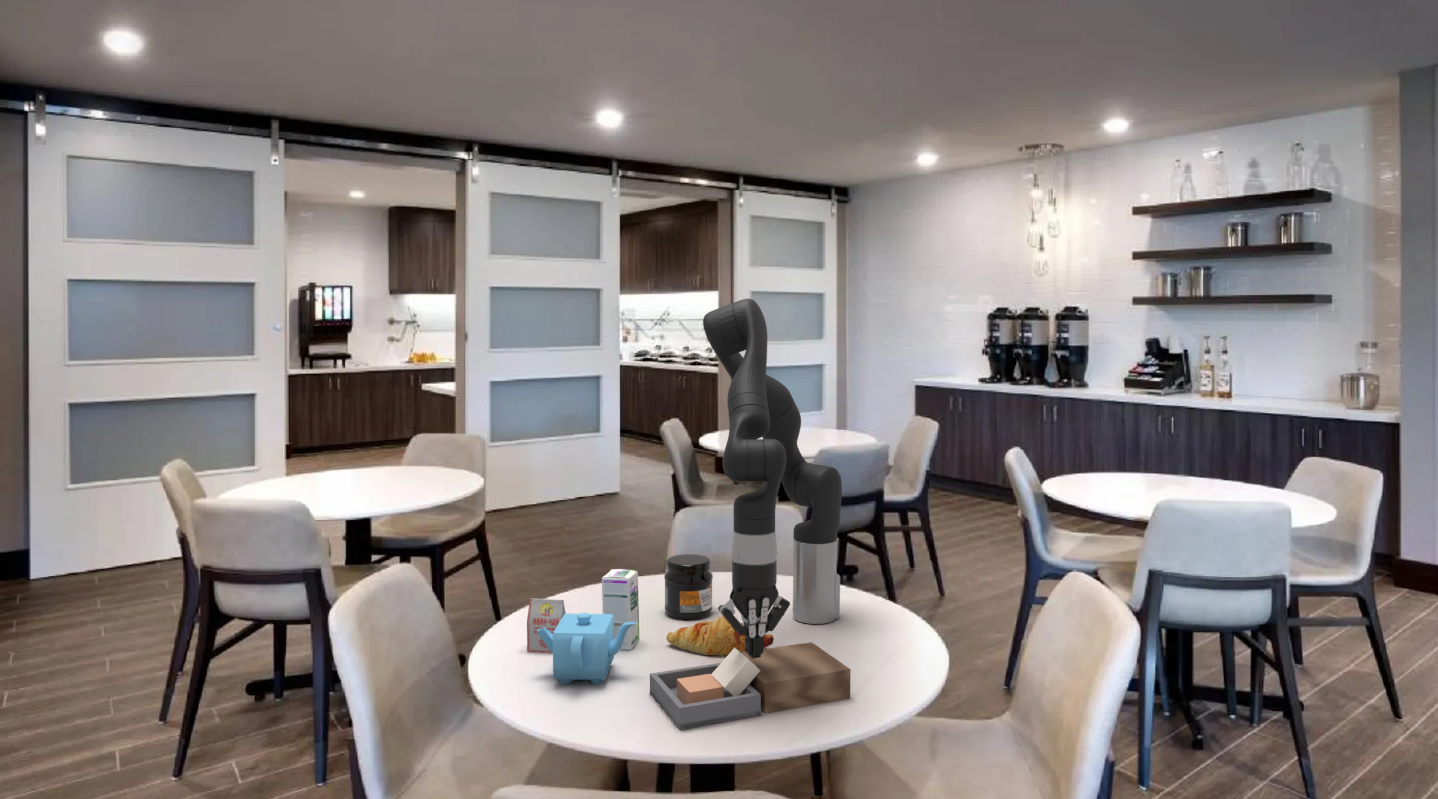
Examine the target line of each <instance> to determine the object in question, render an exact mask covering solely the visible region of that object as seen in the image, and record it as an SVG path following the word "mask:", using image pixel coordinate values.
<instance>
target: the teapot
mask: <svg viewBox="0 0 1438 799" xmlns="http://www.w3.org/2000/svg"><path fill="white" fill-rule="evenodd" d="M634 624H637V622H626V623H624V624H622V625H621V627H620V628H619V631H618V634H617V636H616V638H615V639H614V615H613V614H603V613H588V612H581V613H566V614H565V615H564V616H563V618H562V619H561V621H560V622H559V624H558V626H557V627H556V629H555V631H554V633H553V634H552V633H551V632H550V631H548V630H547V629H546V627H545V628H541V629H538V630H537V633H538V634H539V636H540V637H541V639H542V640H543V641H544V643H545V644H546V645H547V647H548V648H549V649H550V651H551V652H552V653H551V654H552V679H553V680H559V683H560V684H562V685H567V684H572V683H573V681H574V680H577V681H578V680H579V681H581V680H582V681H583V680H585V681H590V683H591V685H592V684H593V685H600V684H603V683H604V681H606V679H607V677H608V675H609V670H611V666H612V663H613V661H614V658H615V655H617V654H618V652H619V651H620V648H621V646H622V643H623V640H624V637H625V634H626V632H627V630H628V629H629V628H630V627H631V626H633V625H634Z"/></svg>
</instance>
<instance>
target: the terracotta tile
mask: <svg viewBox="0 0 1438 799" xmlns="http://www.w3.org/2000/svg"><path fill="white" fill-rule="evenodd" d="M677 697H678V698H679V699H680V700H681V701H682V703H683V704H684V705H685V704H691V703H697V702H702V701H708V700H714V699H720V698H724V687H723V686H722V685H721V684H720V683H719V682H718V681H717V680H716V679H715V678H714V677H713V676H712V675H711V674H705V675H699V676H692V677H686V678H680V679H677Z"/></svg>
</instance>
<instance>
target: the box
mask: <svg viewBox="0 0 1438 799" xmlns="http://www.w3.org/2000/svg"><path fill="white" fill-rule="evenodd" d="M721 663H722V662H716V663H711V664H704V665H698V666H691V667H685V668H678V669H670V670H666V671H665V670H664V671H658V672H651V673H649V695H651V697H652V698H653V700H654V701H655V702H656V703H657V704H658V706H659V707H660V708H661V709H662V711H663V712H664V713H665V714H666V716H667V717H668V718H669V719H670V720H671V722H672V723H673V724H674V725H675V726H676V728H678V730H680V731H682V730H686V729H691V728H698V727H703V726H708V725H715V724H719V723H724V722H731V721H736V720H741V719H748V718H754V717H758V716H761V714H762V713H761V711H762V710H761V694H760V693H759V692H757V691H756V690H755V689H754V688H753V687H752V686H751V685H750V684H748V686H747V687H746V688H745V689H744V690H743V691H742V693H741V694H740V695H738V696H733V695H732V694H731V693H730V692H729V691H728V690H726V689H725V688H724V698H720V699H714V700H708V701H702V702H697V703H691V704H685V705H684V704H683V703H682V701H681V700H680V699H679V698H678V697H677V679H680V678H686V677H692V676H699V675H705V674H712V673H713V672H714V671H715V670H716V668H717V667H718V666H719V665H720V664H721Z"/></svg>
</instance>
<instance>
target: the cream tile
mask: <svg viewBox="0 0 1438 799" xmlns="http://www.w3.org/2000/svg"><path fill="white" fill-rule="evenodd" d="M720 663H721V664H720V665H719V666H718V667H717V668H716V670H715V671H714V672H713V673H712V674H711V675H712V676H713V677H714V678H715V679H716V680H717V681H718V682H719V683H720V684H721V685H722V686H723V687H724V688H725V689H726V690H728V691H729V692H730V693H731V694H732V695H733V696H738V695H740V694H741V693H742V691H743V690H744V689H745V688H746V687H747V686H748V684H749V683H750V682H751V681H752V680H753V679H754V677H755V676H756V675H757V674H758V673H759V672H760V670H759V669H758V668H757V667H756V666H755V665H754V664H753V663H752V662H751V661H750V660H749V659H748V658H747V657H745V656H744V655H743V654H742V653H741V652H739V651H738V650H737V649H736V648H734V649H733V650H732V651H731V652H730V653H729V655H728V656H726V657H725V658H724V659H723V660H722V661H721V662H720Z"/></svg>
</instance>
